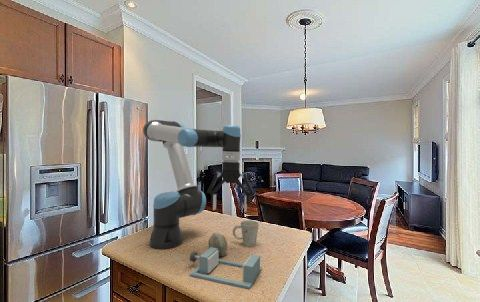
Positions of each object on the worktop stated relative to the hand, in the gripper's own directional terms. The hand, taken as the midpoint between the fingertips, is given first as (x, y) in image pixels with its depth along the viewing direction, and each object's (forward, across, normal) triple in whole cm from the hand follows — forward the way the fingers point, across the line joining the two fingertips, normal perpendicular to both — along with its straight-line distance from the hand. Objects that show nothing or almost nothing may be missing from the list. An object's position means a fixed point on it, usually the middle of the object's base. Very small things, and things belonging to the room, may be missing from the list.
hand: (229, 210), depth 106 cm
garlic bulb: (+18, -4, -3) cm, 19 cm away
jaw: (+18, -7, -15) cm, 25 cm away
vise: (+18, +2, -18) cm, 25 cm away
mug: (+18, +6, +10) cm, 22 cm away
